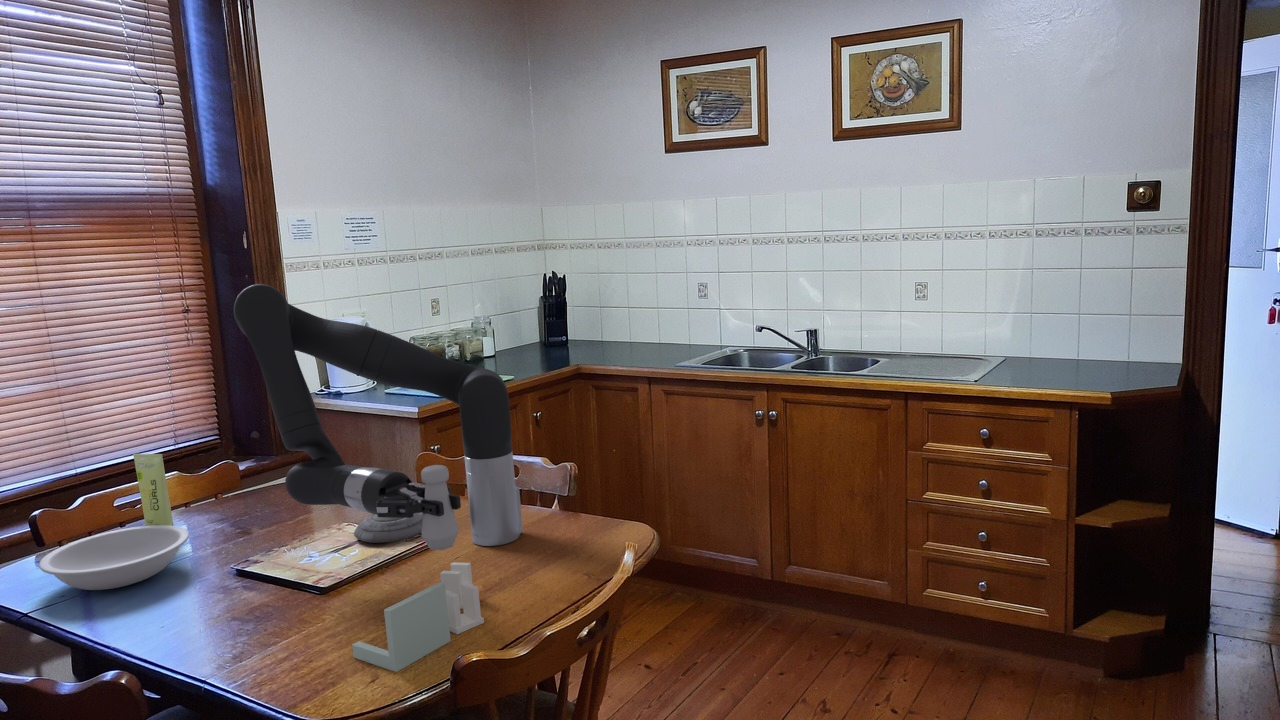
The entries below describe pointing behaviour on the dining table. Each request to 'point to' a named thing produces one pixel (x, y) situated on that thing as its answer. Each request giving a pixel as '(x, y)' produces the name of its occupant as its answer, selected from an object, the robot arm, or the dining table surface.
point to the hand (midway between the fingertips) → (450, 506)
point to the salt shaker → (445, 527)
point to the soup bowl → (115, 557)
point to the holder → (410, 630)
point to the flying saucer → (388, 528)
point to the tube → (153, 489)
